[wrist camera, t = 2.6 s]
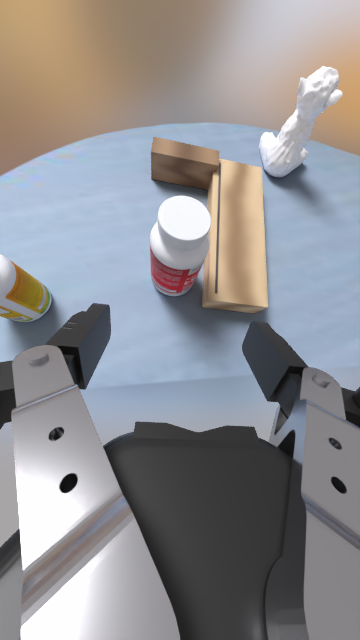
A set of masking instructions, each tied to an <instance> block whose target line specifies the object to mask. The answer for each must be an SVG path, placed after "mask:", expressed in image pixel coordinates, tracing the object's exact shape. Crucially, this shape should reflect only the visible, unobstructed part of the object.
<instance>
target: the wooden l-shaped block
mask: <svg viewBox="0 0 360 640" xmlns="http://www.w3.org/2000/svg"><path fill="white" fill-rule="evenodd" d="M151 171H152V179H154V180H159V181H164V182H169V183H174V184H180V185H185V186H190V187H195V188H200V189H206V190H208V199H207V210H208V212H209V214H210V217H211V227H210V230H209V233H208V236H209V242H210V244H209V250H208V253H207V256H206V258H205V260H204V279H203V299H202V307H205V308H213V309H221V310H230V311H238V312H246V313H255V314H256V313H258V312H260V311H262V310H264V309H266V308H268V295H267V273H266V252H265V230H264V209H263V187H262V168H261V167H257V166H252V165H247V164H242V163H238V162H233V161H228V160H224V159H219V151H217V150H212V149H208V148H203V147H199V146H194V145H189V144H185V143H180V142H176V141H171V140H166V139H162V138H157V137H153V143H152V150H151Z"/></svg>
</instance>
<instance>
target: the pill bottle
mask: <svg viewBox="0 0 360 640" xmlns="http://www.w3.org/2000/svg"><path fill="white" fill-rule="evenodd" d="M210 227H211V217H210V214H209V212H208V210H207V208H206V207H205V206H204V205H203V204H202V203H201V202H199V201H198V200H196V199H194V198H191V197H188V196H174V197H171V198H169V199H167V200H166V201H165V202H163V203H162V205H161V206H160V208H159V211H158V222H157V223H156V224H155V225H154V227H153V229H152V231H151V235H150V257H151V278H152V282H153V284H154V286H155V287H156V288H157V289H158V290H159V291H160V292H161V293H163V294H165V295H169V296H180V295H182V294H184V293H186V292H187V291H189V290H190V288H191V287H192V285H193V283H194V281H195V279H196V277H197V275H198V273H199V271H200V269H201V267H202V265H203V262H204V260H205V258H206V256H207V253H208V250H209V244H210V242H209V236H208V233H209V230H210Z"/></svg>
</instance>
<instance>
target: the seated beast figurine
mask: <svg viewBox="0 0 360 640" xmlns="http://www.w3.org/2000/svg"><path fill="white" fill-rule="evenodd" d="M338 78H339V75H338V71H337V70H336V69H332V67H327V68H326V67H325V66H322V67H321V68H320V69H318V70H317V71H316V72H315V73H313V74H312V75H310V76H309V77H308V78H307V79H305V78H300V83H299V87H298V91H297V96H298V99H297V104H296V108H297V110H295V112H294V114H293V115H292V116H291V117H290V118H289V119H288V120H287V121H286V123H285V125H283V127H282V128H281V132H280V133H279V134H278V136H277V138H275V136H274V135H273V133H269V132H265V133H264V134H263V135H262V137H261V139H260V145H259V148H258V149H260V154H261V158H262V162H263V166H264V170H265V171H266V172H267V173H268V174H269V175H271V176H273V177H277V178H278V177H279V178H280V177H281V178H282V177H284V176H285V175H287V174H289V173H290V172H291V171H292V170H293V169H295V168H296V167H298V166H299V165H300V164H302V162H303V161H304V160H305V159H306V158H307V156H308V152H306V150H305V149H304V146H305V145H306V143H307V142H308V141H309V136H310V135H311V133H312V130H313V126H314V124H315V118H316V117H317V116H318V115H320V114H321V113H322V112H324V111H325V110H326V109H327V107H328V105H333V104H334V103H336V102H337V101H338V100H339V99H340V98H341V97H342V94H343V93H342V92H341V91H340V90H337V86H338V83H339V80H338Z"/></svg>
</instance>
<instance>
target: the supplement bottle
mask: <svg viewBox="0 0 360 640" xmlns="http://www.w3.org/2000/svg"><path fill="white" fill-rule="evenodd" d="M50 305H51V294H50V292H49V290H48V288H47V287H46V286H45V285H43V284H42V283H41V282H39V281H38V280H37V279H35V278H34V277H32V276H31V275H30V274H28V273H27V272H25V271H24V270H23V269H21V268H20V267H18V266H17V265H16V264H14V263H13V262H12V261H10V260H9V259H8V258H6V257H4V256H3V255H1V254H0V316H1V317H4V318H8V319H11V320H14V321H18V322H30V321H34V320H37V319H39V318H40V317H42V316H43V315H44V314H45V313H46V312H47V311H48V309H49V307H50Z"/></svg>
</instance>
